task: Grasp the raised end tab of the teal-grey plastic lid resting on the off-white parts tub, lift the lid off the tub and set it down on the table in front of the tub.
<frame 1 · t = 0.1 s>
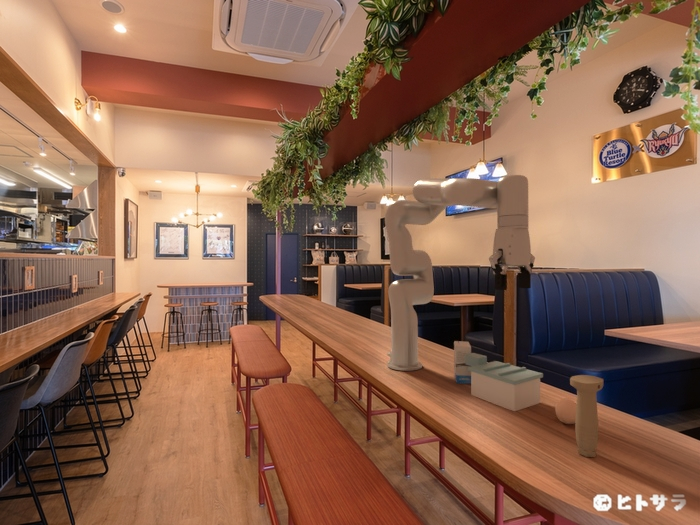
hand: (513, 288, 100), 31 cm above the table, fingers open, 9 cm apart
ink box: (462, 380, 123), on the table
egg: (567, 424, 90), on the table
handle: (586, 455, 76), on the table
lid: (504, 373, 106), point 7 cm above the table, touching tub
tub: (504, 398, 106), on the table
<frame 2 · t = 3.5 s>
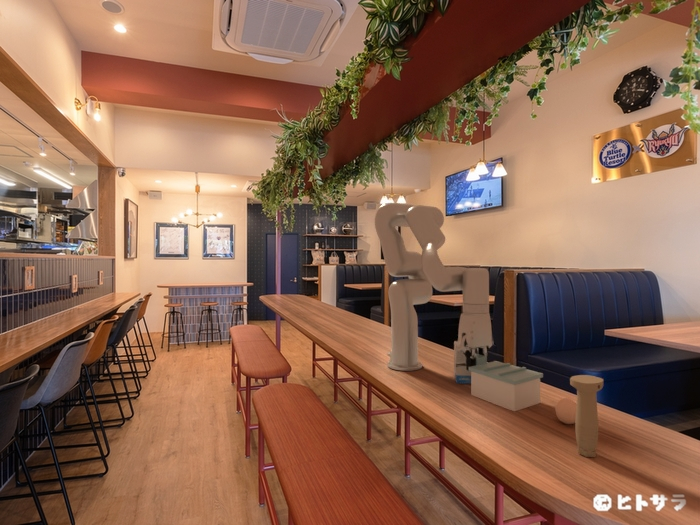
hand: (476, 369, 115), 6 cm above the table, fingers closed on lid, 3 cm apart
lid: (504, 373, 106), point 7 cm above the table, touching gripper, tub
everything else where it was.
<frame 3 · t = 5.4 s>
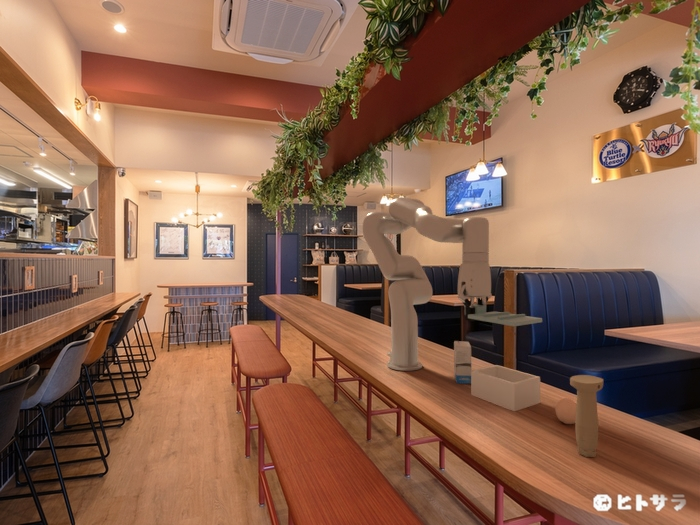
hand: (475, 319, 115), 21 cm above the table, fingers closed on lid, 3 cm apart
lid: (503, 320, 106), point 22 cm above the table, touching gripper
everything else where it was.
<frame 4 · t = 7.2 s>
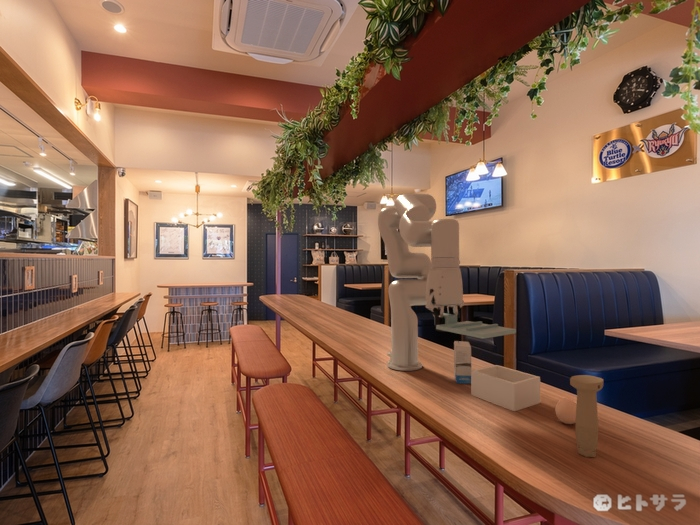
hand: (445, 329, 105), 19 cm above the table, fingers closed on lid, 3 cm apart
lid: (474, 331, 97), point 21 cm above the table, touching gripper
everything else where it was.
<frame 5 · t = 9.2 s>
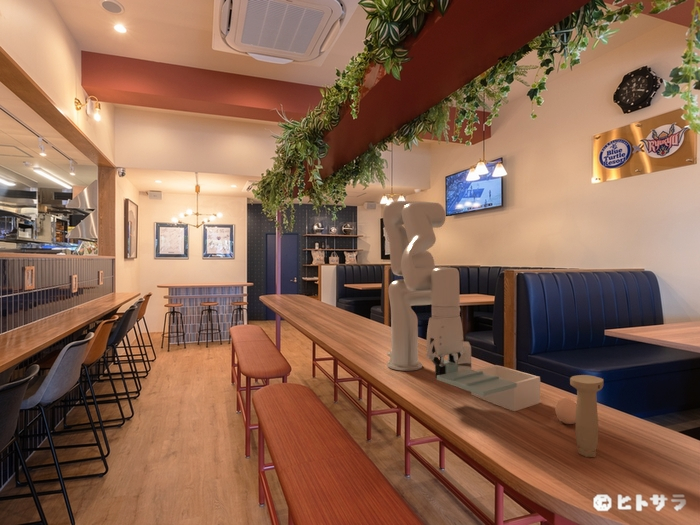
hand: (446, 378, 105), 6 cm above the table, fingers closed on lid, 3 cm apart
lid: (475, 383, 97), point 8 cm above the table, touching gripper
everything else where it was.
when the fingers open (1 cm above the table, at t = 11.1 s): lid drops 2 cm, on the table.
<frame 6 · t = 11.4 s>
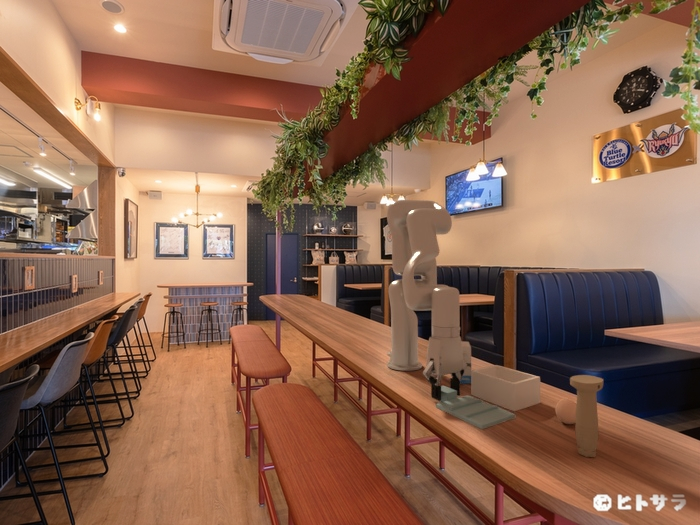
hand: (445, 395, 106), 1 cm above the table, fingers open, 6 cm apart
lid: (474, 412, 97), on the table
everything else where it was.
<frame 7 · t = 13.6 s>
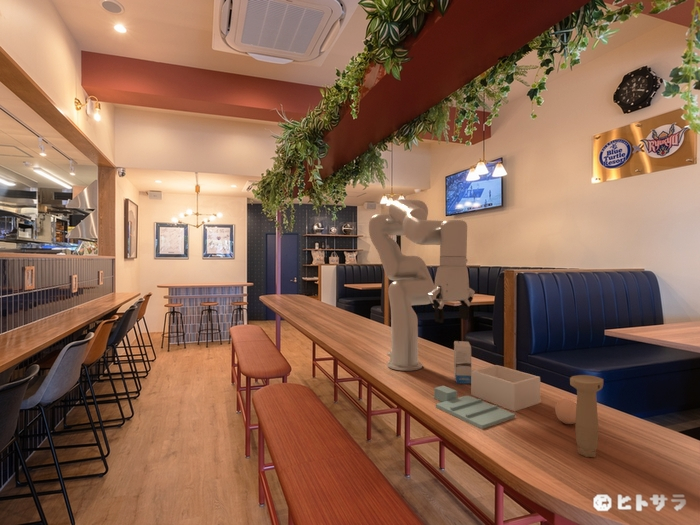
hand: (451, 320, 113), 21 cm above the table, fingers open, 9 cm apart
nothing on the table moved.
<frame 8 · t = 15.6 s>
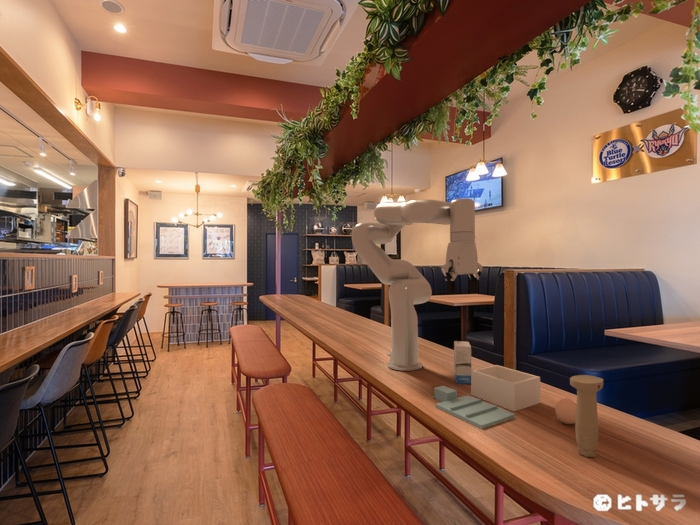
hand: (462, 292, 120), 28 cm above the table, fingers open, 9 cm apart
nothing on the table moved.
at the end: lid inside the target area (0.5 cm from its centre), on the table; lid touching table; the gripper is holding nothing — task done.
